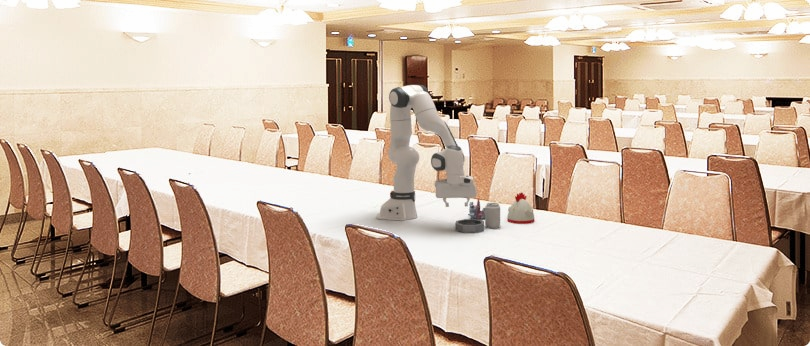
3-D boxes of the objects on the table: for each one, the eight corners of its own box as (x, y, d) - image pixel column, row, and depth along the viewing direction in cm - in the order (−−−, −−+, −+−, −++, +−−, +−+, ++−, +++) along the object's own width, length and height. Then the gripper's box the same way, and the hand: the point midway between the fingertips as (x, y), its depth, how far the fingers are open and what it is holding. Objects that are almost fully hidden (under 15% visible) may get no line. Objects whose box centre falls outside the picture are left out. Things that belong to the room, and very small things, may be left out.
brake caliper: (489, 216, 340) (475, 198, 340) (473, 228, 343) (459, 210, 343) (492, 212, 351) (478, 194, 351) (476, 223, 354) (462, 205, 354)
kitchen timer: (501, 221, 340) (501, 192, 338) (519, 216, 349) (519, 189, 347) (522, 225, 330) (522, 196, 328) (539, 221, 339) (540, 192, 336)
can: (489, 224, 333) (489, 201, 331) (502, 226, 329) (502, 202, 327) (482, 227, 327) (482, 204, 325) (495, 229, 323) (496, 205, 321)
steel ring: (454, 232, 318) (454, 225, 317) (456, 225, 331) (456, 218, 331) (483, 233, 315) (483, 225, 315) (484, 226, 329) (484, 219, 328)
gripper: (433, 180, 318) (435, 208, 321) (475, 179, 315) (476, 207, 317) (435, 178, 325) (436, 205, 327) (476, 177, 321) (477, 204, 323)
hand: (456, 206), depth 322 cm, fingers open, 8 cm apart
